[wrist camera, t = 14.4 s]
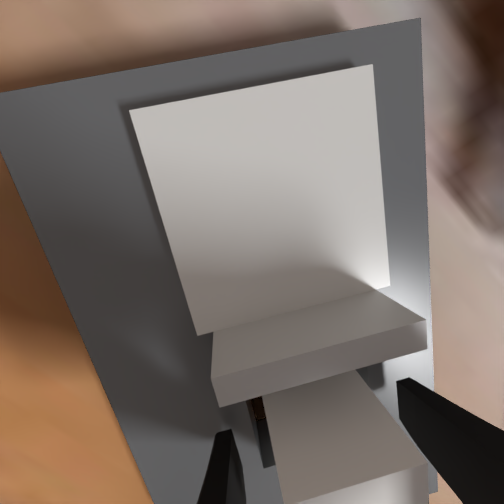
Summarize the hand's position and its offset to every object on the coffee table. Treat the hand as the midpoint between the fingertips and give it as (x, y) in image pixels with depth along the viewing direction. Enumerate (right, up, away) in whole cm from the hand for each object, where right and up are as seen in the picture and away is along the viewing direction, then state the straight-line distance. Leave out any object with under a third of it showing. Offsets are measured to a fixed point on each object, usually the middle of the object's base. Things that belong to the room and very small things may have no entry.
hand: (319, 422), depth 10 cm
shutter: (-2, +8, -1) cm, 8 cm away
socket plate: (-2, +3, +3) cm, 5 cm away
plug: (0, +1, +3) cm, 3 cm away
